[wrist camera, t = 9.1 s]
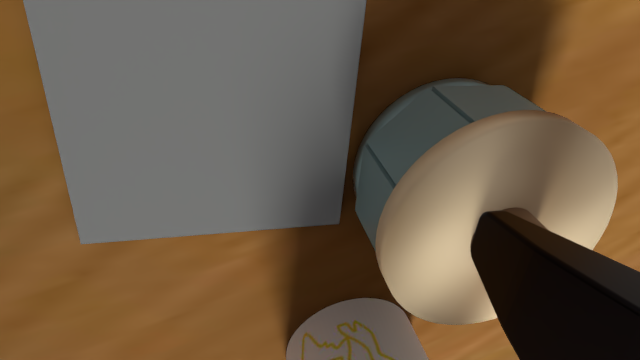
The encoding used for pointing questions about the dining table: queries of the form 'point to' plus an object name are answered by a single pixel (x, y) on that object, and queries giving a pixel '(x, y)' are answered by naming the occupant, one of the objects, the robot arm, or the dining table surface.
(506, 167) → the lid
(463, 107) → the grooved blue cylinder
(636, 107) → the dining table surface
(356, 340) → the white cylinder
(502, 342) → the dining table surface
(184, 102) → the mat
